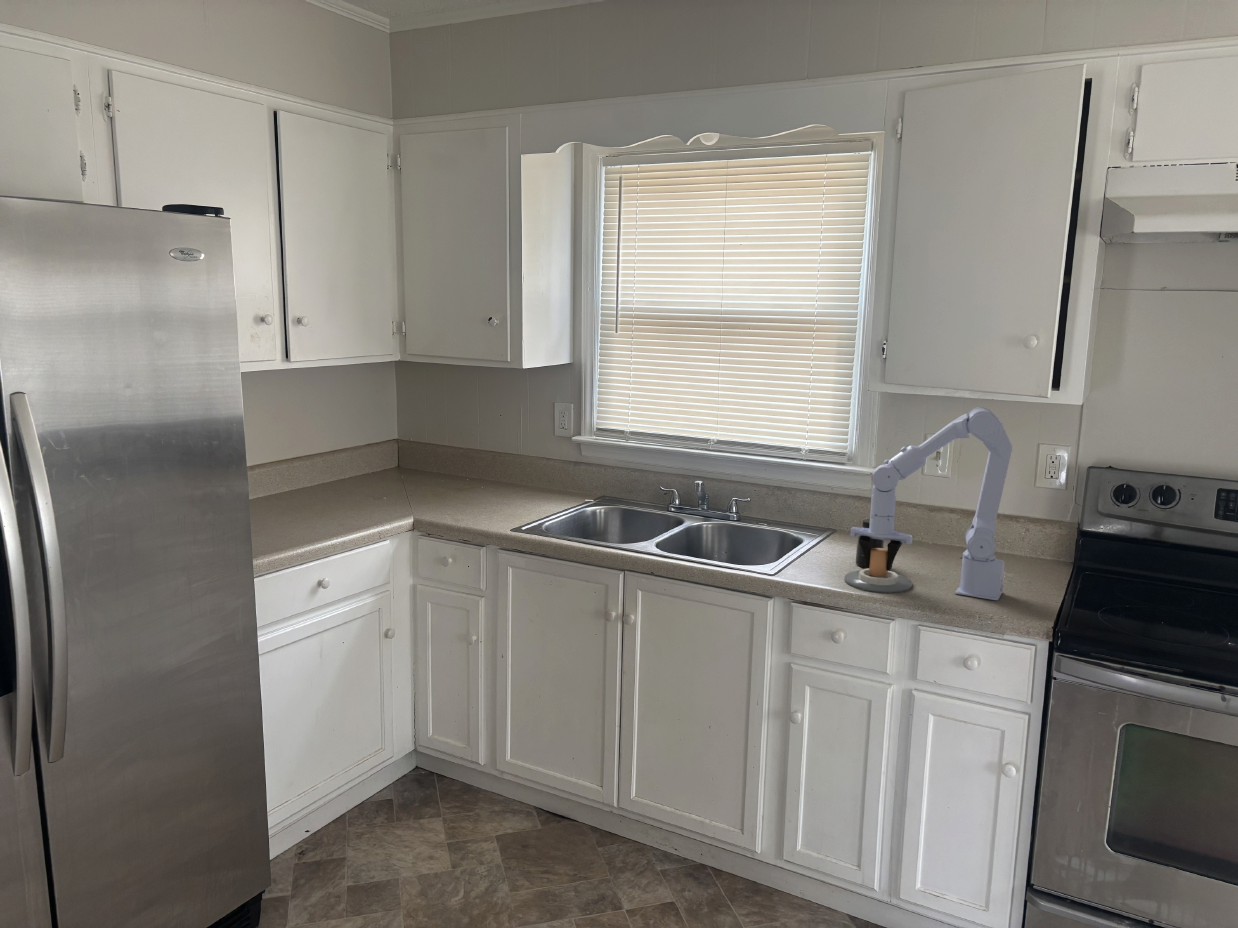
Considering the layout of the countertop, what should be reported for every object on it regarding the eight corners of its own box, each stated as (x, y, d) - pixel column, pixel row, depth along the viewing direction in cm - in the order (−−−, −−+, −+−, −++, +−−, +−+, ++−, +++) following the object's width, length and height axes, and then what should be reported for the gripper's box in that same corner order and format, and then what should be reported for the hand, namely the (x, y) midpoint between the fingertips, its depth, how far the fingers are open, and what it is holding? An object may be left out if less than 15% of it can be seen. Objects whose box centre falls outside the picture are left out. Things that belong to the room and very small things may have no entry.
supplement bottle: (864, 569, 233) (867, 524, 231) (850, 562, 239) (853, 518, 237) (887, 568, 235) (890, 523, 233) (873, 560, 241) (876, 517, 239)
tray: (918, 579, 225) (919, 570, 225) (902, 597, 211) (903, 587, 211) (854, 569, 233) (855, 560, 233) (836, 585, 219) (836, 576, 219)
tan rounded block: (890, 574, 222) (892, 550, 221) (881, 577, 219) (883, 553, 218) (874, 570, 225) (876, 547, 224) (865, 573, 222) (867, 550, 221)
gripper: (916, 515, 219) (912, 568, 221) (857, 507, 226) (854, 559, 229) (910, 520, 213) (905, 576, 215) (849, 512, 220) (846, 566, 223)
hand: (878, 568), depth 222 cm, fingers closed on tan rounded block, 4 cm apart
